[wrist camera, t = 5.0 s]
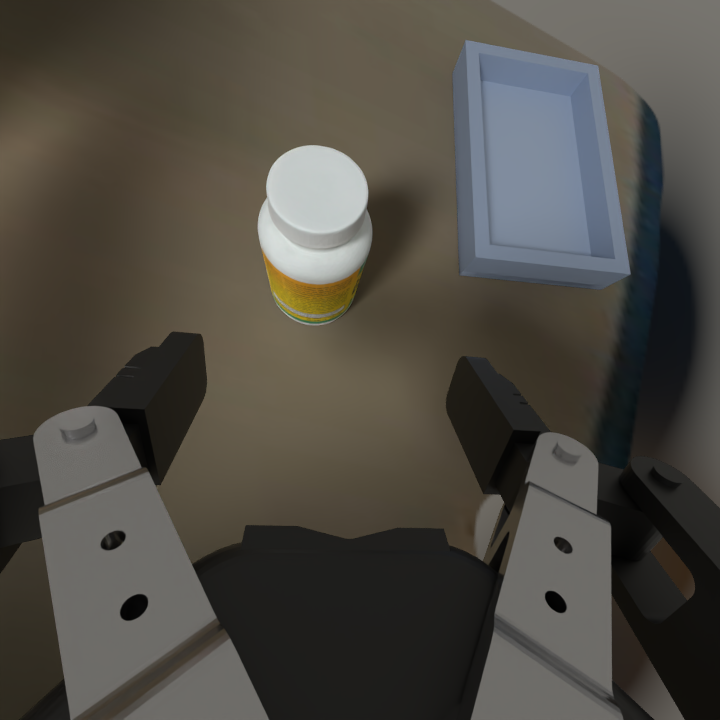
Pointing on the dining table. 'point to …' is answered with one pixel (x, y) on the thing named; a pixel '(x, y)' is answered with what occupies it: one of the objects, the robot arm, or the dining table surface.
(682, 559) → the robot arm
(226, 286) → the dining table surface
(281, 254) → the supplement bottle
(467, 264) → the tray
